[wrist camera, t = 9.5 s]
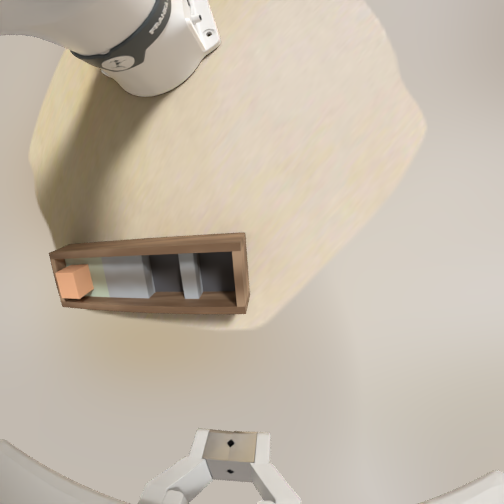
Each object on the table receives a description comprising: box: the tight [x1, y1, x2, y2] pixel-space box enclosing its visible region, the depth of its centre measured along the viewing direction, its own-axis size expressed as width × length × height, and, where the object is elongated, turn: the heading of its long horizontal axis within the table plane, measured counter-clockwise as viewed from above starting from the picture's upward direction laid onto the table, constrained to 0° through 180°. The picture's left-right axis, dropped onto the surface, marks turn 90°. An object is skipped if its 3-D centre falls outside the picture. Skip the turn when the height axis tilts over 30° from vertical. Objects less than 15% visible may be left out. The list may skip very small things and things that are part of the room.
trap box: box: [49, 233, 250, 314], centre depth 37 cm, size 9×30×6 cm, turn 94°
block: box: [55, 264, 94, 299], centre depth 36 cm, size 4×4×4 cm
